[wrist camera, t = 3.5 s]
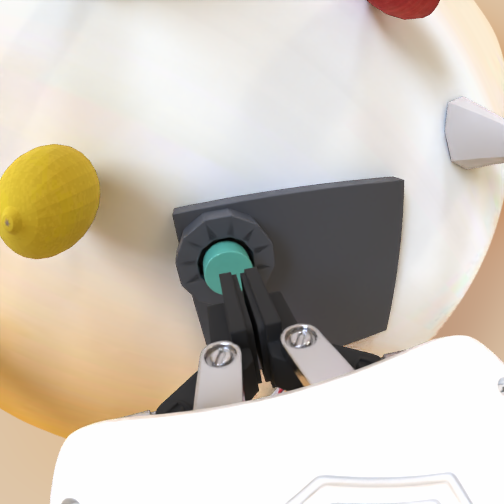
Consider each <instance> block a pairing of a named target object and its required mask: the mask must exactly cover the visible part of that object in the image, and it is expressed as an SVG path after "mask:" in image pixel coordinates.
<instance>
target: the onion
mask: <svg viewBox="0 0 504 504" xmlns="http://www.w3.org/2000/svg"><path fill="white" fill-rule="evenodd" d="M367 1H368V2H369V3H371V4H372V5H373V6H374V7H376V8H377V9H379V10H381V11H382V12H384V13H386V14H388V15H391V16H394V17H397V18H401V19H405V20H406V19H416V18H424V17H426V16H428V15H430V14H431V13H432V12H433V11H434V10H435V8H436V7H437V5H438V3H439V1H440V0H367Z"/></svg>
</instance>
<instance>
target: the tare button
mask: <svg viewBox="0 0 504 504" xmlns="http://www.w3.org/2000/svg"><path fill="white" fill-rule="evenodd" d="M248 268H253V265H252V263H251V261H250V259H249V256H248V254H247V252H246V250H245V249H244V248H243V247H242V246H241V245H240V244H238V243H236V242H233V241H221V242H218V243H215V244H214V245H212V246H211V247H210V248H209V249H208V250H207V251H206V253H205V255H204V258H203V270H204V278H205V281H206V284H207V285H208V286H209V288H210V289H212V290H213V291H214V292H216V293H219V294H222V289H221V284H220V278H219V274H222V273H227V272H231V274H232V275H234V274H236V275H237V278H238V282H239V285H240V288H241V291H242V284H241V278H240V273H244V269H248ZM222 295H223V294H222Z"/></svg>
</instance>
